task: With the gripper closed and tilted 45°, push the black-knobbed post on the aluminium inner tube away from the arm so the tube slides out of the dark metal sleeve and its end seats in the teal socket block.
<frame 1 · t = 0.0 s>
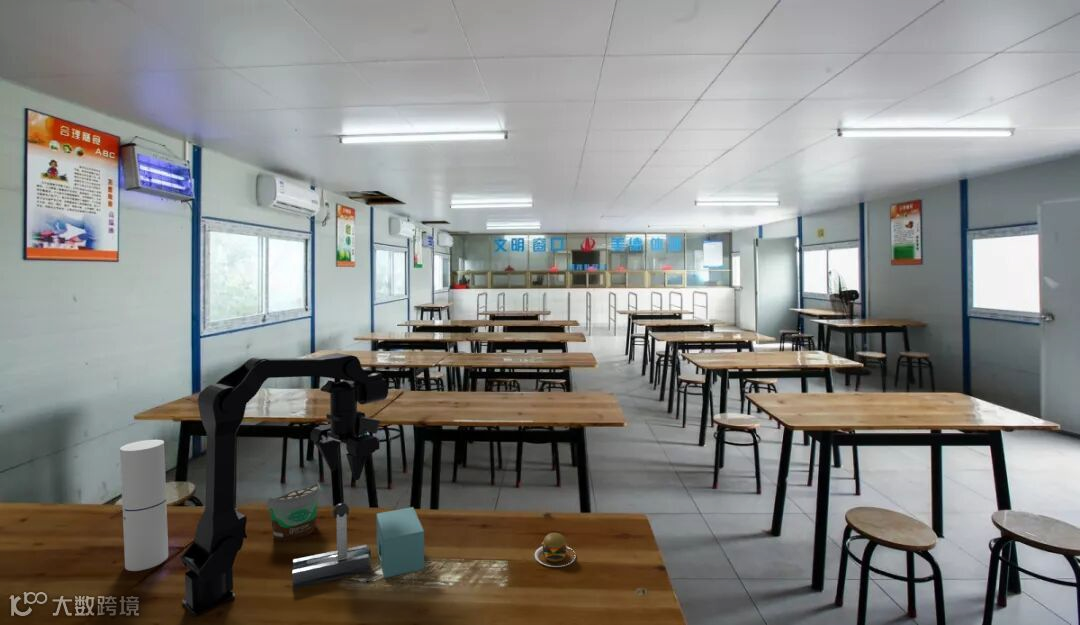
hand: (345, 475, 113), 15 cm above the table, tool pointing down, fingers open, 9 cm apart
outer sleeve: (336, 572, 100), on the table
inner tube: (338, 534, 100), point 8 cm above the table, slide at 0.0 cm
socket block: (399, 558, 106), on the table
food container: (300, 534, 116), on the table
cylindrical container: (147, 562, 104), on the table
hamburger: (555, 560, 107), on the table
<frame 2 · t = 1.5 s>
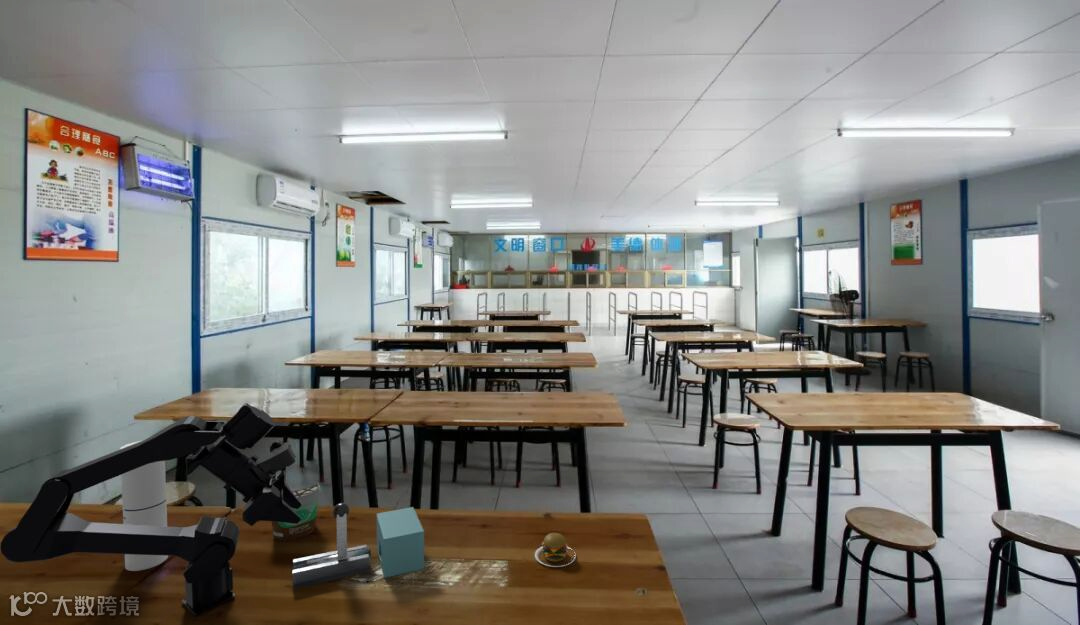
hand: (299, 513, 97), 14 cm above the table, tool tilted 45°, fingers open, 6 cm apart
nothing on the table moved.
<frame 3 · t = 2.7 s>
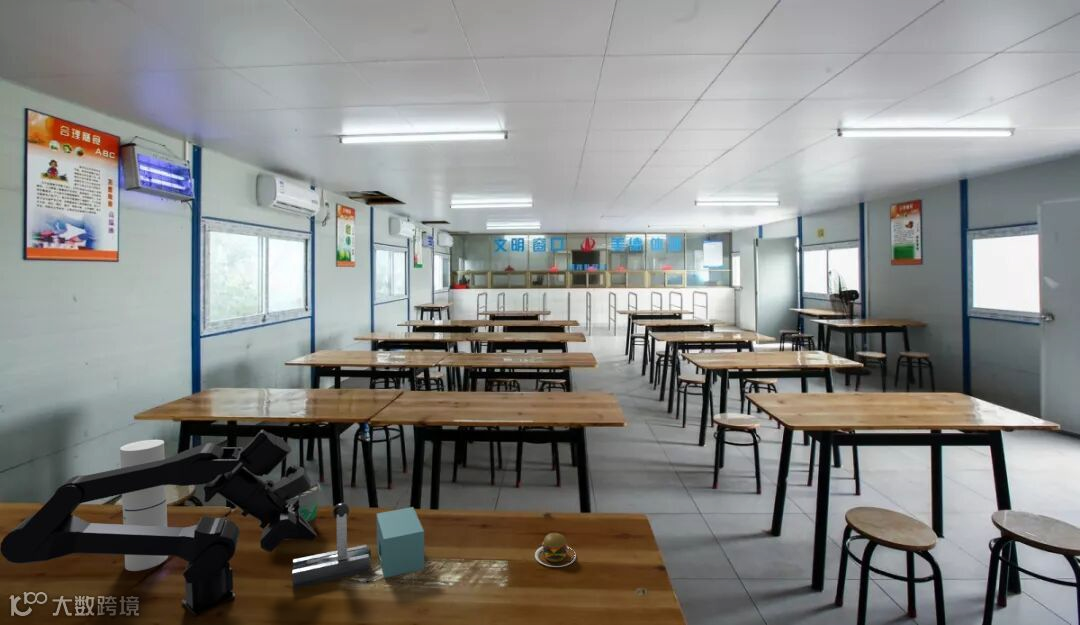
hand: (314, 537, 98), 8 cm above the table, tool tilted 45°, fingers closed
nothing on the table moved.
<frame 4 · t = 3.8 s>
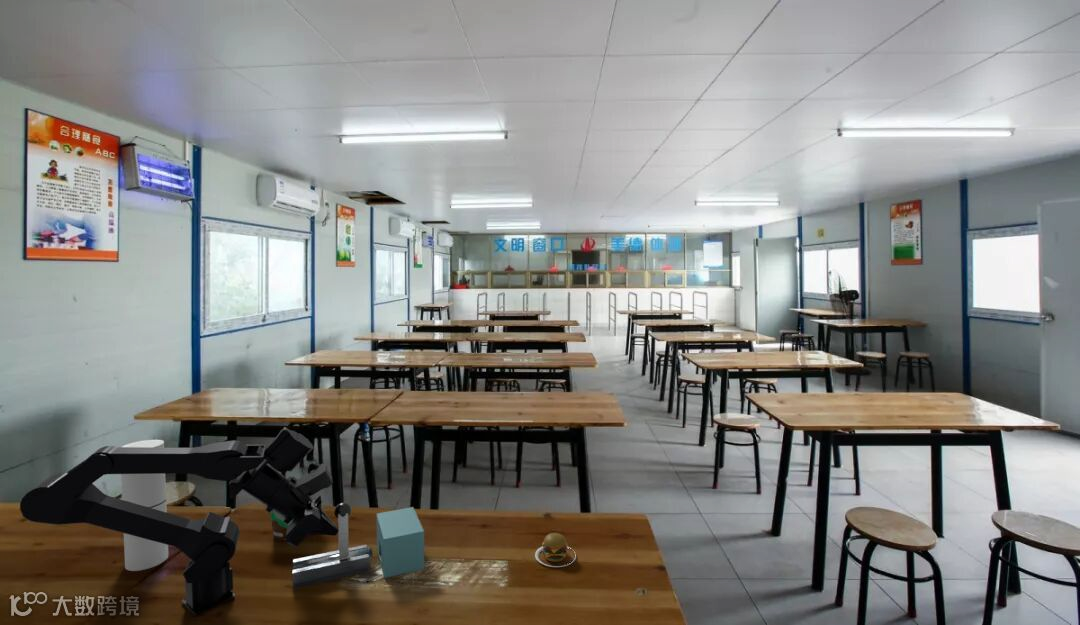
hand: (336, 532, 100), 8 cm above the table, tool tilted 45°, fingers closed, pressing on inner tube
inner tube: (340, 534, 100), point 8 cm above the table, slide at 0.3 cm, touching gripper
everything else where it was.
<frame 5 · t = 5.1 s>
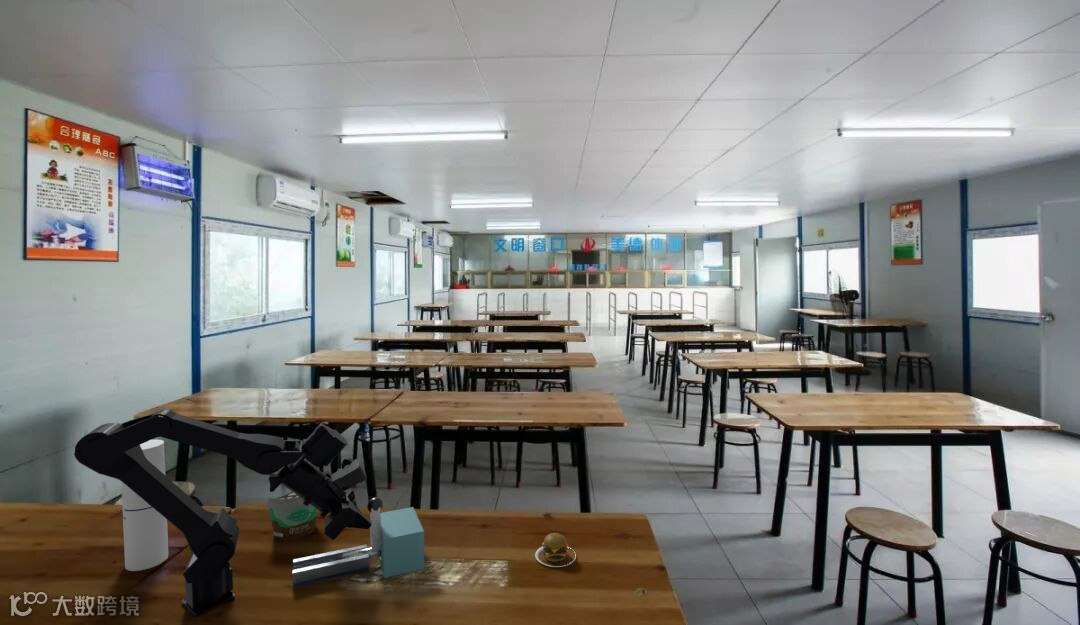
hand: (369, 526, 103), 8 cm above the table, tool tilted 45°, fingers closed, pressing on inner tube
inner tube: (372, 528, 103), point 8 cm above the table, slide at 6.6 cm, touching gripper
everything else where it was.
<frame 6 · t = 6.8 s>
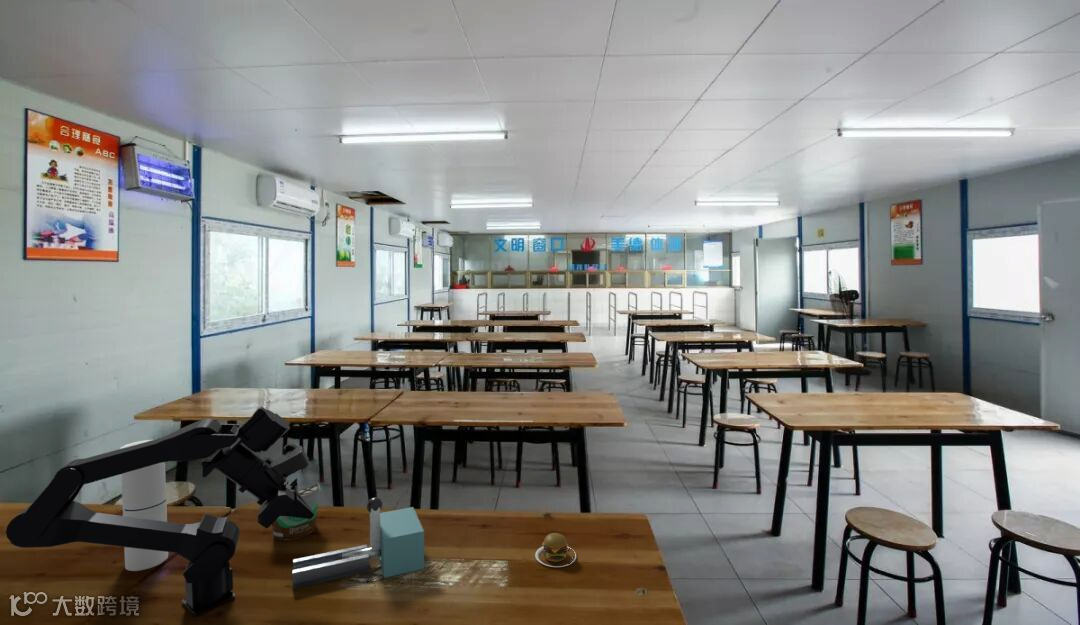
hand: (312, 516, 98), 13 cm above the table, tool tilted 45°, fingers closed
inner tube: (372, 528, 103), point 8 cm above the table, slide at 6.5 cm
everything else where it was.
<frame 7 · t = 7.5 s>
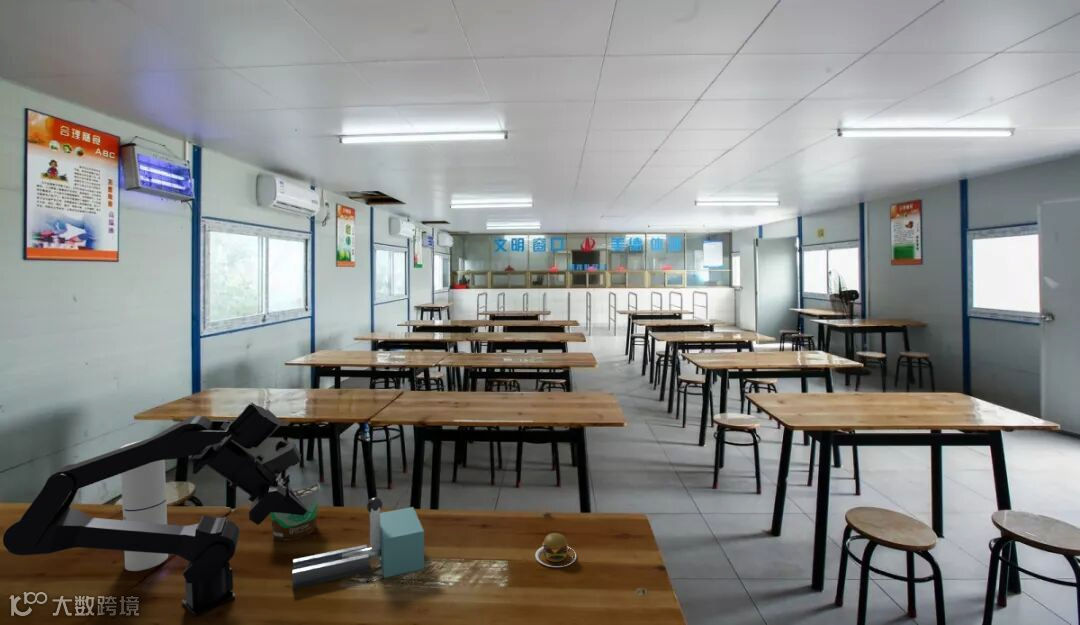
hand: (305, 512, 97), 14 cm above the table, tool tilted 45°, fingers closed
nothing on the table moved.
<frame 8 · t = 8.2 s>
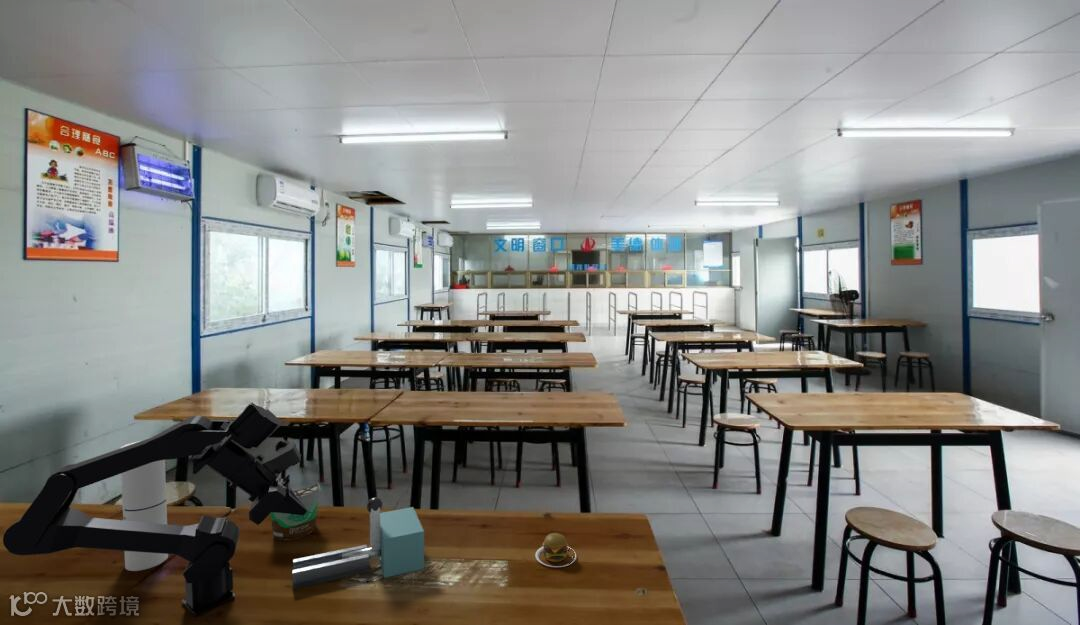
hand: (305, 512, 97), 14 cm above the table, tool tilted 45°, fingers closed
nothing on the table moved.
at the end: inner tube slide at 6.5 cm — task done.
